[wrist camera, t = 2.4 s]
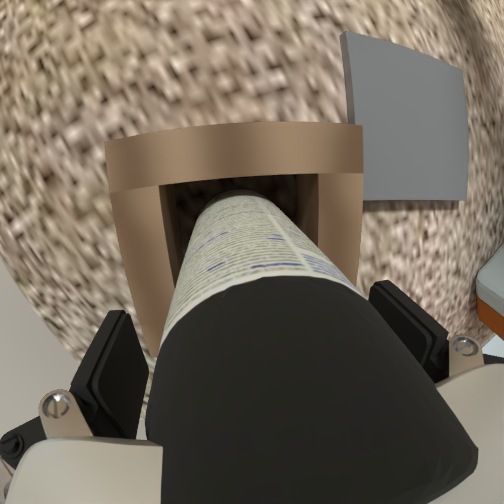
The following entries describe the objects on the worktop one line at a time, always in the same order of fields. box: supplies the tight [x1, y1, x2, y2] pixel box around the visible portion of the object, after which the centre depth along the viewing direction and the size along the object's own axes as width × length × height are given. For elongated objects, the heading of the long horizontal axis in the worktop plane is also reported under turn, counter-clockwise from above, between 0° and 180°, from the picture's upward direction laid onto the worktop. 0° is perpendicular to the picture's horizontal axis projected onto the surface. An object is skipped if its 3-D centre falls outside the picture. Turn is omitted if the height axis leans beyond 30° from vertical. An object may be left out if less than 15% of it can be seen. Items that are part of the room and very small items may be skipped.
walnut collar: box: [104, 122, 364, 357], centre depth 18 cm, size 15×15×5 cm
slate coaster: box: [340, 31, 469, 201], centre depth 18 cm, size 14×14×1 cm
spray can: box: [145, 189, 479, 504], centre depth 12 cm, size 7×7×20 cm
